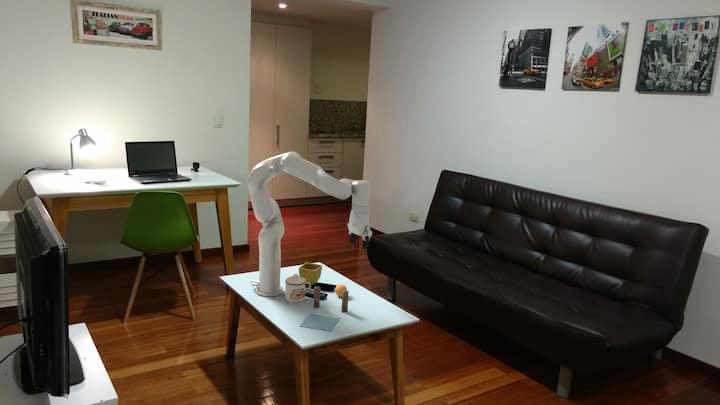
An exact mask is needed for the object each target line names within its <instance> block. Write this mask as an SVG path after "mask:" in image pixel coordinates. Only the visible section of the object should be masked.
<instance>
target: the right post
mask: <svg viewBox="0 0 720 405" xmlns="http://www.w3.org/2000/svg"><path fill="white" fill-rule="evenodd" d="M341 297H342V298H341V313H343V314H344V313H348V311H349V290H347V291H346V290H344V291H342V296H341Z"/></svg>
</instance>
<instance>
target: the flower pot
mask: <svg viewBox="0 0 720 405" xmlns="http://www.w3.org/2000/svg"><path fill="white" fill-rule="evenodd" d="M322 269H323V265H322V264H318V263H312V262H305V263H304V264H302V265H300V266H299V267H298V276H300V277H303V278H304V279H305V280H306V282H309V283H310V284H313V283H316V282H317V283H318V282H319V281H320V278H321V275H322ZM317 283H316V284H317Z"/></svg>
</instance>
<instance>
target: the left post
mask: <svg viewBox="0 0 720 405" xmlns="http://www.w3.org/2000/svg"><path fill="white" fill-rule="evenodd" d="M313 287H314V288H313V290H314V291H313V308H314V309H320V305H321V304H320V303H321V301H320V300H321V286H313Z"/></svg>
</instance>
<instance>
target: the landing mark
mask: <svg viewBox="0 0 720 405" xmlns="http://www.w3.org/2000/svg"><path fill="white" fill-rule="evenodd" d="M340 319H341V317H337V316H330V315H323V314H319V313H318V314H317V313H309V314H308V316H306V318H305V319H304V320H303V321H302V322H301V324H299V327H301V328H306V329H307V328H308V329H314V330H320V331H324V332H325V331H327V332H332V330H334V328H335V326H336V325H337V323H338V322H339V320H340Z"/></svg>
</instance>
